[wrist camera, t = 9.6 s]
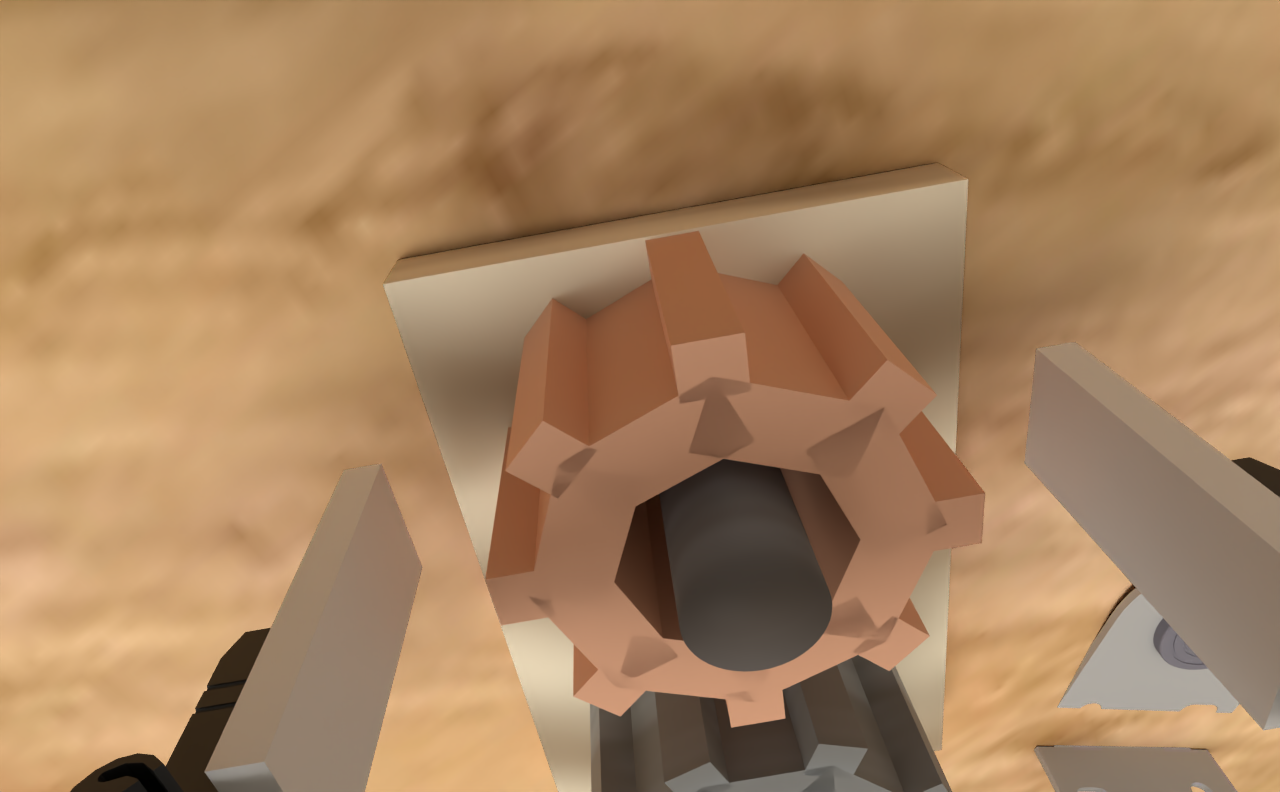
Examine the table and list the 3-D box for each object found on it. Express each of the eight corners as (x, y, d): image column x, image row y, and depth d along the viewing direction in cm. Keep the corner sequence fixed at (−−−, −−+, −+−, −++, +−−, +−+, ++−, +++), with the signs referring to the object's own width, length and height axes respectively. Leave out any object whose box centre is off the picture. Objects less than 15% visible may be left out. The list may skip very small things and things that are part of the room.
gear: (436, 370, 17) (385, 512, 12) (777, 157, 15) (858, 234, 11) (639, 605, 21) (655, 777, 16) (932, 455, 19) (1038, 602, 14)
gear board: (397, 260, 17) (274, 462, 10) (938, 162, 17) (1191, 301, 10) (566, 769, 26) (561, 1066, 19) (923, 709, 26) (1051, 987, 19)
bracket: (1344, 530, 24) (1455, 613, 21) (1192, 747, 28) (1264, 840, 25) (1146, 519, 23) (1233, 604, 20) (1025, 744, 28) (1079, 839, 25)
